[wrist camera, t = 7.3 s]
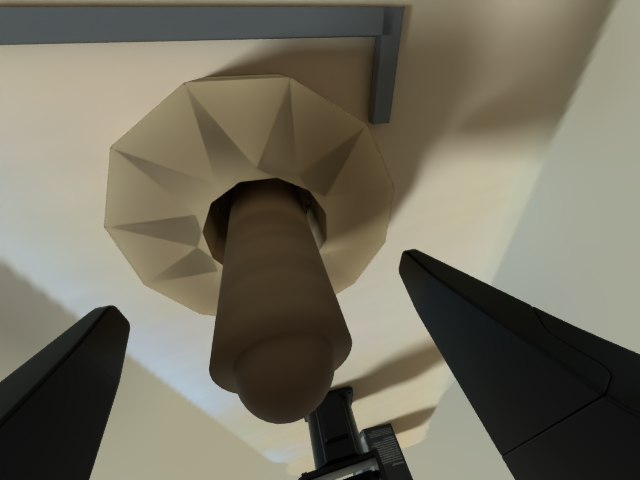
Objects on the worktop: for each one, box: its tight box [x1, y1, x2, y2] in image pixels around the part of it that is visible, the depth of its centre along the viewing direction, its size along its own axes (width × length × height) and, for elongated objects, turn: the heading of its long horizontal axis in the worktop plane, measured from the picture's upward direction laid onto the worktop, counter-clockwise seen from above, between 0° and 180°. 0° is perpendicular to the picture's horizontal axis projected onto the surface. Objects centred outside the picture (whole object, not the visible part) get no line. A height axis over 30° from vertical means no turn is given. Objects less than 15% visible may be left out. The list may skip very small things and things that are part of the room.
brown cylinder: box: [209, 178, 352, 424], centre depth 9 cm, size 3×3×10 cm
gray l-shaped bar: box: [0, 7, 404, 124], centre depth 9 cm, size 4×14×1 cm, turn 92°
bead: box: [104, 74, 394, 316], centre depth 11 cm, size 11×11×4 cm
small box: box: [353, 424, 413, 480], centre depth 42 cm, size 11×6×10 cm, turn 167°
